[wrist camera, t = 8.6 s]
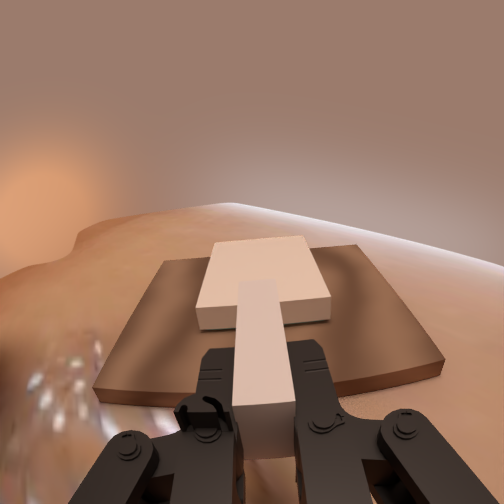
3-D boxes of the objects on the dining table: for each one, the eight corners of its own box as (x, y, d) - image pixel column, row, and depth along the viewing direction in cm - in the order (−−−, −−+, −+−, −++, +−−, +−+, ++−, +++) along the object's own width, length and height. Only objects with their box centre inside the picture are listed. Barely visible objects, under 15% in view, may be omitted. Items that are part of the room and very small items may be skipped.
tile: (195, 307, 23) (214, 242, 36) (200, 333, 24) (217, 261, 37) (331, 296, 22) (302, 235, 35) (330, 322, 23) (303, 254, 36)
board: (100, 401, 18) (92, 387, 18) (166, 271, 39) (164, 260, 38) (439, 374, 18) (445, 359, 17) (356, 255, 38) (356, 244, 38)
